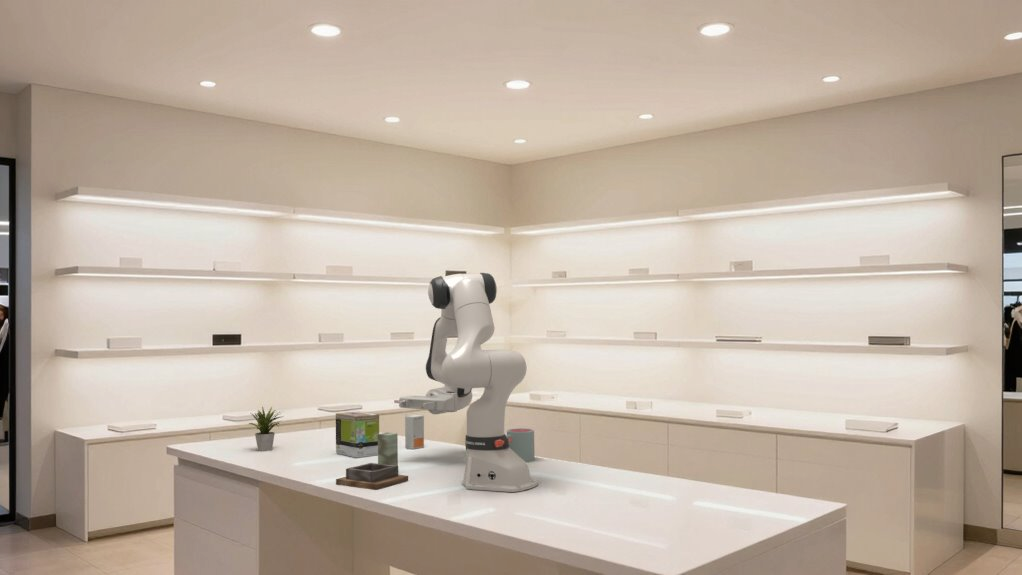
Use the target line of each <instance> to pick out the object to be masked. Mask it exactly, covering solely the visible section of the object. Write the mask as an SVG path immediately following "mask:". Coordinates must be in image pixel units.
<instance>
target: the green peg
mask: <svg viewBox="0 0 1022 575" xmlns="http://www.w3.org/2000/svg"><path fill="white" fill-rule="evenodd" d="M398 435H399V434H398V433H395V432H384V433H383V432H382V433H379V434H378V455H377V460H378V461H377V464H386V465H395V466H398V467H399V458H398V457H399V454H398V453H399V450H398V447H399V446H398V443H399V442H398V440H399V439H398Z"/></svg>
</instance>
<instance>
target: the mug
mask: <svg viewBox="0 0 1022 575" xmlns="http://www.w3.org/2000/svg"><path fill="white" fill-rule="evenodd" d="M505 435H506V437H507V438H508V439H509V438H512V439H511V440H510V441H512V442H509V445H510V448H511V449H512V450H513V451H514V452H515V453H516V454H517V455H518V456H519V457H521V458H522V459H523V460H524V461H525V462H526V463H531V462H535V460H536V459H535V458H536V457H535V453H536V452H535V429H533V428H527V427H526V428H520V427H519V428H510V429H509V428H508V429H507V430H506V434H505Z"/></svg>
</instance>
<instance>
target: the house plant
mask: <svg viewBox="0 0 1022 575" xmlns="http://www.w3.org/2000/svg"><path fill="white" fill-rule="evenodd" d="M261 410H262V412H261ZM261 410H259V409H257V413H256V412H254V414H255V415H254V414H253V413H251V416H252V417H253V418H254V419H255V421H256V422H257V424H256V423H253V422H250V423H248V425H252V426H255V427H256V430H259V431H258V432H256V433H254V435H255V442H256V446H257V451H259V452H269V451H273V447H274V438H275V433H276V432H275V431H271V430H273V427H275V426H277V427H278V428H280V427H279V425H280V422H281V420H280V421H277V422H274V421H275V420H278V419H281V418H284V417H285V415H283V416H279V415H280V414H281V413H283V412H284V410H282V411H278V412H277V409H274V410H273V406H271V407H270V408H269V410H268V412H267V413H265V409H264V407H263V406H262V407H261ZM277 416H278V417H277Z"/></svg>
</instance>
